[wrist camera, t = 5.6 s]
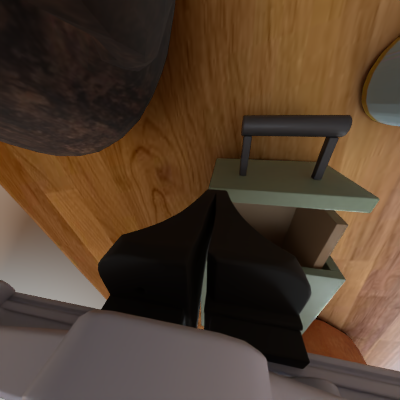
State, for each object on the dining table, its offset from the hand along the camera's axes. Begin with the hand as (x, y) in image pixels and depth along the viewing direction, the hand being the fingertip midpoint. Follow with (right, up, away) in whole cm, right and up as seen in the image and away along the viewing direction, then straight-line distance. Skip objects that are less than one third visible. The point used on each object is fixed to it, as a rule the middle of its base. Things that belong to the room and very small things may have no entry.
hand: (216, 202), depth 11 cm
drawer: (+7, +1, +9) cm, 11 cm away
